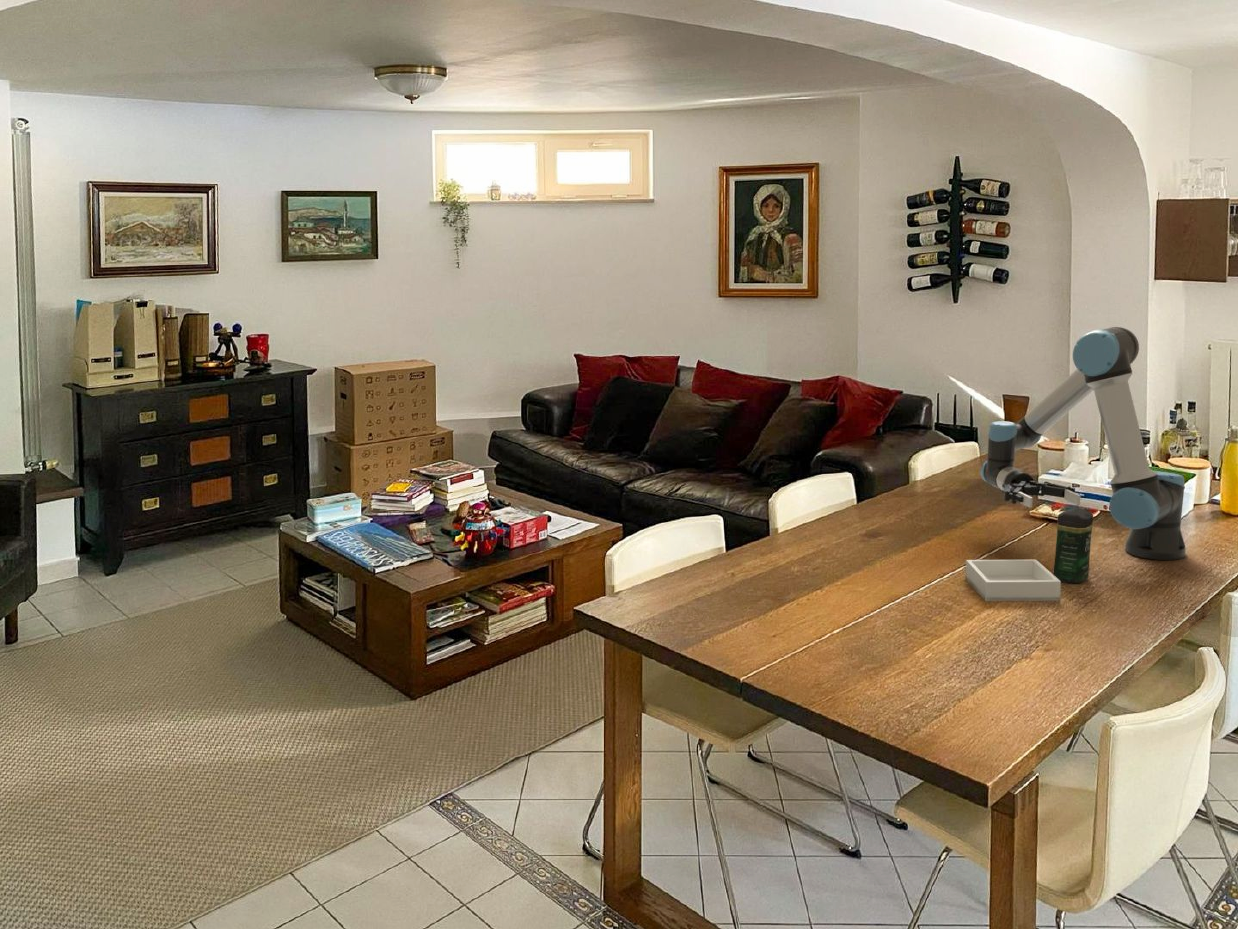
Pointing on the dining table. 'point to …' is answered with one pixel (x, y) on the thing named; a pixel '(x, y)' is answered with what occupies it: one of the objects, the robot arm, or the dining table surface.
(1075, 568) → the coffee jar
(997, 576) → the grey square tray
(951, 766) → the dining table surface
